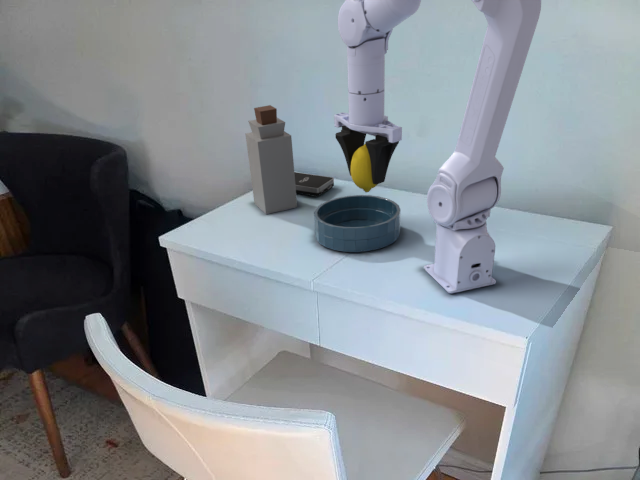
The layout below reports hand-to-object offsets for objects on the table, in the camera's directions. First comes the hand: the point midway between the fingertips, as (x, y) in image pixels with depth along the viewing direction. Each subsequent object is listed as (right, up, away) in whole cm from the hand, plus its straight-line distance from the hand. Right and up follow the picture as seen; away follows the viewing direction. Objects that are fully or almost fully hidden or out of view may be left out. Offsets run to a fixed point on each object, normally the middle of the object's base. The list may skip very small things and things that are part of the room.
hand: (367, 178), depth 104 cm
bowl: (-1, -8, +6) cm, 10 cm away
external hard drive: (-11, +8, +25) cm, 29 cm away
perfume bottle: (-17, +2, +19) cm, 26 cm away
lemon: (0, -2, +2) cm, 2 cm away
